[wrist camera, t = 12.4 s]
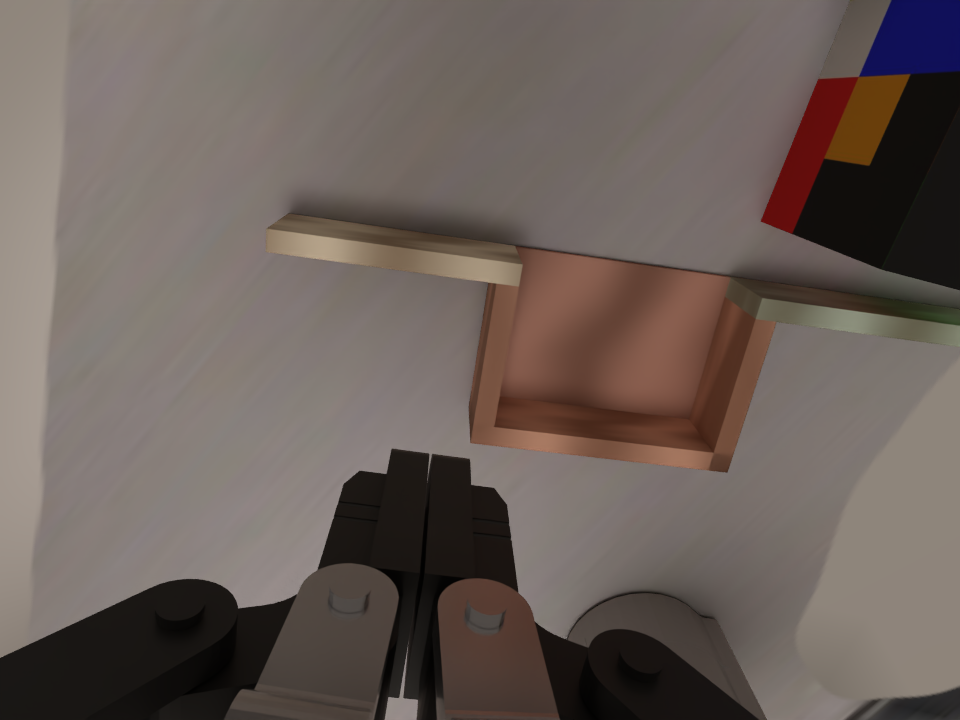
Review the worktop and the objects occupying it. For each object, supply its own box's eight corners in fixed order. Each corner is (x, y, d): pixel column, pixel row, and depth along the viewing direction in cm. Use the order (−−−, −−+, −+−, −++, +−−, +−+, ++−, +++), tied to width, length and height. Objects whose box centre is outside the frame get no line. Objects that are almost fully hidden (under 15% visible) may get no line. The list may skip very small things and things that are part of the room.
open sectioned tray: (1252, -190, 27) (1378, -235, 24) (949, 464, 38) (1002, 504, 35) (316, -399, 24) (291, -492, 20) (280, 384, 35) (260, 418, 31)
